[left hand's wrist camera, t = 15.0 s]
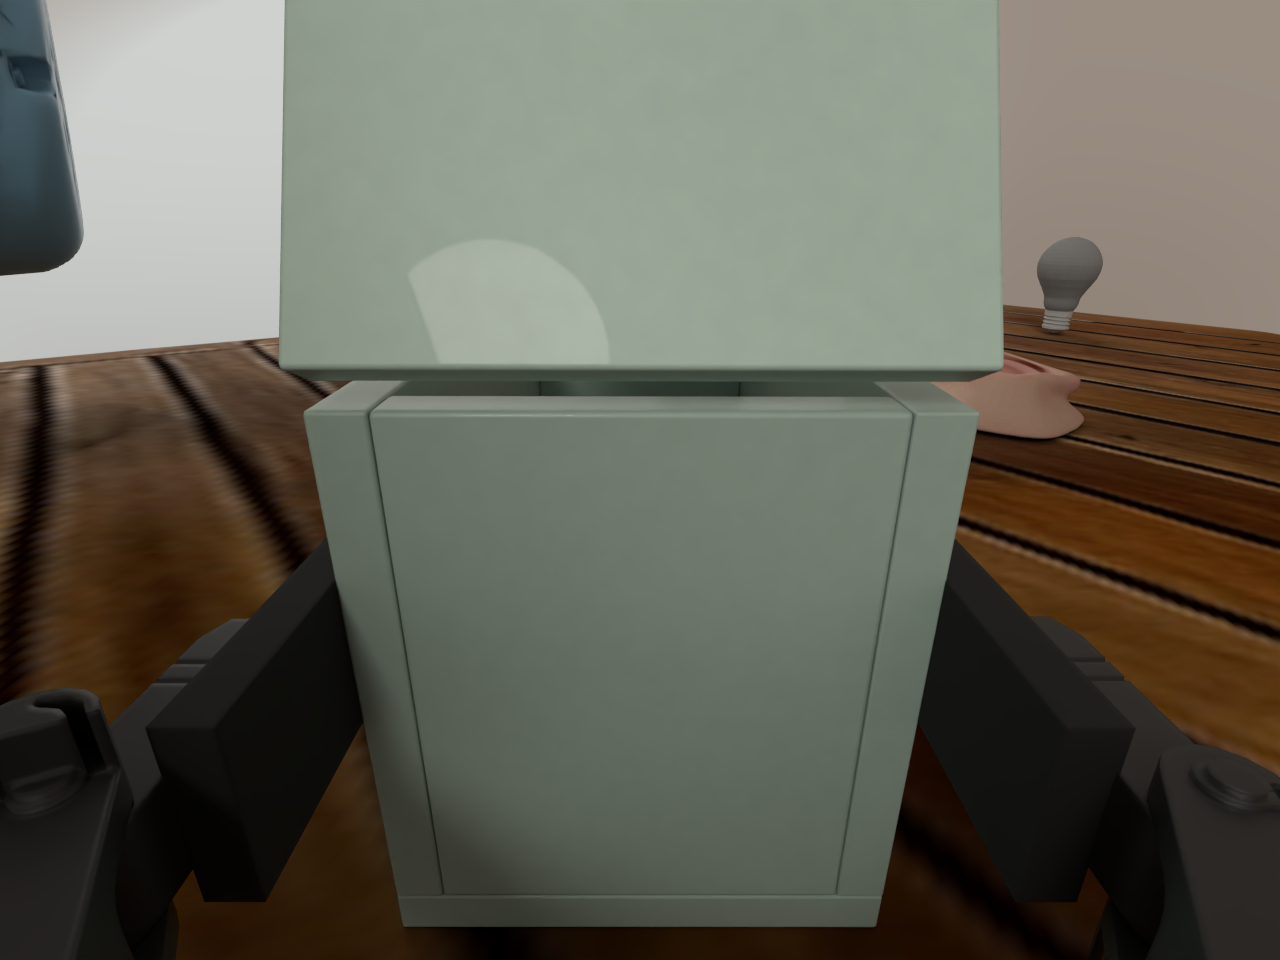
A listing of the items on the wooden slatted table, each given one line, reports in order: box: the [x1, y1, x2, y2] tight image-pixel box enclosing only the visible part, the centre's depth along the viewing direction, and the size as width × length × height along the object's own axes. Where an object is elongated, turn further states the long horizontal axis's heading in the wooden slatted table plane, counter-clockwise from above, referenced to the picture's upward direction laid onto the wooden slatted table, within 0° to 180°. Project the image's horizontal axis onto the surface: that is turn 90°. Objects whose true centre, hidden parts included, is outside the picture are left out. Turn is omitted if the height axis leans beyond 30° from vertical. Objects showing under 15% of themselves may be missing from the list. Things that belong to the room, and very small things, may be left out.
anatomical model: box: [931, 352, 1084, 439], centre depth 46 cm, size 13×4×12 cm
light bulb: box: [1037, 237, 1103, 333], centre depth 74 cm, size 6×6×10 cm
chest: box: [303, 381, 979, 927], centre depth 19 cm, size 17×9×10 cm, turn 0°
